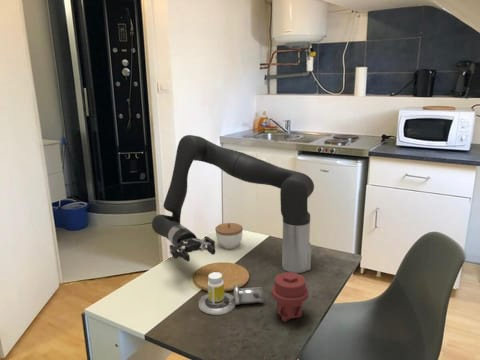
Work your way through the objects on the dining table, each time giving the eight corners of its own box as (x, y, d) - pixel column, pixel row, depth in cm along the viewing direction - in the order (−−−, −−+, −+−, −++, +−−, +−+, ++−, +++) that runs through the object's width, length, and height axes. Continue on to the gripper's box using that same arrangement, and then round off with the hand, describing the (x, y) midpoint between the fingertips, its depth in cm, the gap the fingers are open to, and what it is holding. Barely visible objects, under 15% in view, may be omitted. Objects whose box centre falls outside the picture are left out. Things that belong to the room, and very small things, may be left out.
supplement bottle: (226, 298, 116) (225, 272, 114) (221, 306, 111) (220, 280, 109) (212, 295, 117) (210, 270, 115) (205, 304, 113) (204, 278, 111)
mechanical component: (271, 304, 114) (306, 306, 113) (271, 325, 104) (308, 327, 103) (272, 266, 111) (307, 267, 110) (271, 284, 101) (310, 286, 100)
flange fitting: (260, 291, 121) (259, 275, 119) (265, 312, 110) (265, 294, 109) (198, 295, 119) (198, 279, 118) (198, 316, 109) (197, 298, 107)
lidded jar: (248, 245, 155) (248, 223, 152) (229, 254, 147) (228, 231, 145) (229, 238, 162) (228, 217, 160) (210, 246, 154) (209, 224, 152)
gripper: (161, 232, 131) (179, 249, 117) (200, 224, 137) (221, 238, 124) (163, 253, 133) (181, 272, 119) (201, 243, 139) (222, 260, 126)
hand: (201, 255), depth 121 cm, fingers open, 8 cm apart
